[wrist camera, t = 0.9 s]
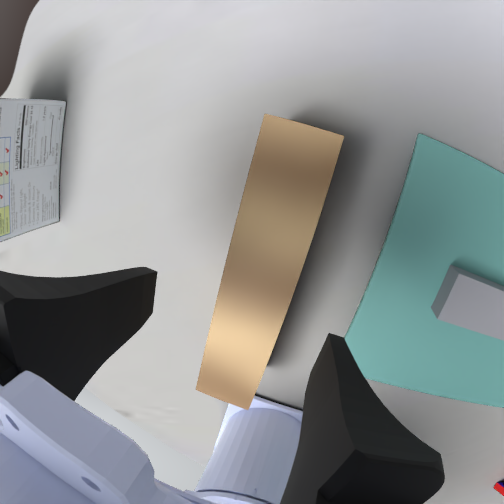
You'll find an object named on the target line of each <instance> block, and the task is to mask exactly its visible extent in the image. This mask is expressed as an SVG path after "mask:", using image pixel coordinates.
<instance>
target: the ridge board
mask: <svg viewBox="0 0 504 504" xmlns="http://www.w3.org/2000/svg"><path fill="white" fill-rule="evenodd" d="M344 339H345V341H346V343H347V345H348V347H349V349H350V351H351V353H352V355H353V357H354V359H355V361H356V363H357V365H358V367H359V369H360V370H361V372H362V374H363V376H364V377H365V378H367V379H370V380H374V381H378V382H382V383H385V384H389V385H393V386H397V387H401V388H405V389H410V390H414V391H418V392H423V393H427V394H432V395H436V396H441V397H446V398H451V399H456V400H461V401H466V402H471V403H477V404H483V405H489V406H495V407H502V408H504V174H503V173H501V172H499V171H497V170H496V169H494V168H492V167H490V166H488V165H486V164H484V163H482V162H481V161H479V160H477V159H475V158H473V157H471V156H469V155H467V154H465V153H463V152H461V151H458V150H456V149H454V148H452V147H450V146H448V145H446V144H443V143H441V142H439V141H437V140H434V139H432V138H430V137H427V136H425V135H423V134H420V133H419V134H418V136H417V140H416V144H415V147H414V151H413V155H412V158H411V162H410V165H409V169H408V172H407V176H406V179H405V182H404V186H403V189H402V192H401V195H400V198H399V202H398V205H397V208H396V211H395V214H394V217H393V219H392V222H391V225H390V228H389V231H388V234H387V236H386V239H385V242H384V245H383V247H382V250H381V253H380V255H379V258H378V261H377V263H376V266H375V268H374V271H373V273H372V276H371V278H370V281H369V283H368V285H367V288H366V290H365V293H364V295H363V297H362V300H361V302H360V304H359V307H358V309H357V311H356V313H355V316H354V318H353V320H352V322H351V324H350V327H349V329H348V331H347V333H346V335H345V337H344Z"/></svg>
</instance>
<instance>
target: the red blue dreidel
mask: <svg viewBox="0 0 504 504" xmlns="http://www.w3.org/2000/svg"><path fill="white" fill-rule="evenodd" d="M494 489H495V490H497V491H498V492H499V493H500V494H502V495H503V496H504V483H499V482H497V483H496V485H495V486H494Z"/></svg>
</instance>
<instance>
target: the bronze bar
mask: <svg viewBox="0 0 504 504" xmlns="http://www.w3.org/2000/svg"><path fill="white" fill-rule="evenodd" d="M343 138H344V136H342V135H339V134H336V133H333V132H330V131H327V130H323V129H320V128H317V127H313V126H310V125H306V124H303V123H299V122H295V121H292V120H288V119H284V118H280V117H276V116H272V115H268V114H264V118H263V122H262V125H261V129H260V133H259V136H258V140H257V144H256V147H255V151H254V155H253V158H252V162H251V166H250V170H249V173H248V177H247V181H246V185H245V189H244V192H243V196H242V200H241V204H240V208H239V212H238V216H237V220H236V223H235V227H234V231H233V235H232V239H231V243H230V247H229V251H228V255H227V259H226V263H225V267H224V271H223V275H222V279H221V284H220V288H219V292H218V296H217V300H216V304H215V308H214V313H213V317H212V321H211V325H210V329H209V334H208V338H207V342H206V346H205V351H204V355H203V359H202V364H201V368H200V373H199V377H198V381H197V386H196V390H198V391H200V392H202V393H205V394H207V395H210V396H212V397H214V398H217V399H219V400H222V401H224V402H227V403H230V404H232V405H235V406H238V407H240V408H243V409H246V410H249V407H250V405H251V403H252V400H253V398H254V395H255V393H256V390H257V388H258V385H259V383H260V381H261V378H262V376H263V373H264V370H265V368H266V365H267V363H268V360H269V358H270V355H271V353H272V350H273V347H274V345H275V342H276V340H277V337H278V334H279V332H280V329H281V326H282V324H283V321H284V318H285V316H286V313H287V310H288V307H289V305H290V302H291V299H292V296H293V294H294V291H295V288H296V285H297V282H298V279H299V277H300V274H301V271H302V268H303V265H304V262H305V259H306V256H307V253H308V250H309V248H310V245H311V242H312V239H313V236H314V233H315V230H316V226H317V223H318V220H319V217H320V214H321V211H322V208H323V205H324V202H325V198H326V195H327V192H328V189H329V186H330V182H331V179H332V176H333V172H334V169H335V166H336V162H337V159H338V156H339V152H340V149H341V145H342V142H343Z"/></svg>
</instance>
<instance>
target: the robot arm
mask: <svg viewBox="0 0 504 504" xmlns="http://www.w3.org/2000/svg"><path fill="white" fill-rule="evenodd" d="M156 279H157V271H154V270H152V269H149V268H147V267H137V268H130V269H124V270H119V271H113V272H107V273H101V274H94V275H87V276H78V277H61V278H54V277H33V276H25V275H18V274H12V273H7V272H3V271H0V504H423V503H424V502H426V501H427V500H428V499H430V498H431V497H432V496H433V495H434V494H435V493H436V492H437V491H439V489H440V488H441V487H442V485H443V483H444V479H445V475H444V469H443V464H442V458H441V454H440V453H438V452H437V451H435V450H434V449H432V448H431V447H430V446H428V445H427V444H425V443H424V442H422V441H421V440H420V439H418V438H417V437H416V436H415V435H413V434H412V433H411V432H410V431H409V430H407V429H406V428H405V427H404V426H403V425H402V424H401V423H400V422H399V421H398V420H397V419H396V418H395V417H394V416H393V415H392V414H391V413H390V412H389V410H388V409H387V408H386V407H385V406H384V405H383V403H382V402H381V401H380V399H379V398H378V397H377V395H376V394H375V393H374V391H373V390H372V388H371V387H370V385H369V384H368V382H367V381H366V379H365V377H364V376H363V374H362V372H361V370H360V369H359V367H358V365H357V363H356V361H355V359H354V357H353V355H352V353H351V351H350V349H349V347H348V345H347V343H346V341H345V339H344V338H343V337H340V336H337V335H333V334H330V333H329V334H328V336H327V338H326V341H325V343H324V345H323V347H322V349H321V352H320V354H319V356H318V358H317V360H316V362H315V364H314V366H313V369H312V371H311V373H310V377H309V381H308V385H307V389H306V393H305V400H304V408H303V411H300V410H297V409H294V408H290V407H287V406H284V405H281V404H278V403H275V402H272V401H269V400H266V399H263V398H260V397H257V396H254V398H253V400H252V403H251V405H250V407H249V410H246V409H243V408H240V407H238V406H235V405H232V404H230V403H229V404H228V407H227V410H226V414H225V417H224V420H223V423H222V426H221V429H220V432H219V435H218V438H217V441H216V444H215V447H214V452H213V454H212V456H211V458H210V460H209V462H208V464H207V466H206V468H205V470H204V472H203V474H202V476H201V478H200V480H199V482H198V484H197V486H196V488H195V490H194V491H189V490H185V491H184V492H183V491H181V490H179V489H177V488H174V487H172V486H170V485H168V484H165V483H163V482H161V481H159V480H157V479H155V478H154V469H153V467H152V465H151V462H150V460H149V458H148V455H147V454H146V453H145V452H144V451H143V450H142V449H141V448H140V447H139V446H138V445H137V444H136V442H134V440H132V439H131V438H129V437H128V436H127V435H125V434H124V433H122V432H121V431H120V430H118V429H117V428H115V427H114V426H112V425H110V424H109V423H107V422H105V421H104V420H102V419H101V418H99V417H97V416H96V415H94V414H93V413H91V412H89V411H88V410H86V409H85V408H83V407H82V406H80V405H79V404H77V403H76V402H74V401H75V399H76V398H77V396H78V394H79V393H80V392H81V391H82V389H83V388H84V387H85V385H86V384H87V383H88V381H89V380H90V379H91V378H92V376H93V375H94V374H95V373H96V371H97V370H98V369H99V368H100V367H101V365H102V364H103V363H104V362H105V361H106V360H107V359H108V358H109V357H110V356H111V355H113V354H114V353H115V352H116V351H117V350H118V349H119V348H120V347H121V346H122V345H123V344H125V343H126V342H127V341H128V340H129V339H130V338H131V337H132V336H133V335H134V334H135V333H136V332H137V331H138V330H139V329H140V328H141V327H142V326H143V325H144V323H145V322H146V321H147V320H148V318H149V317H150V316H151V314H152V313H153V305H154V296H155V287H156Z"/></svg>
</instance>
